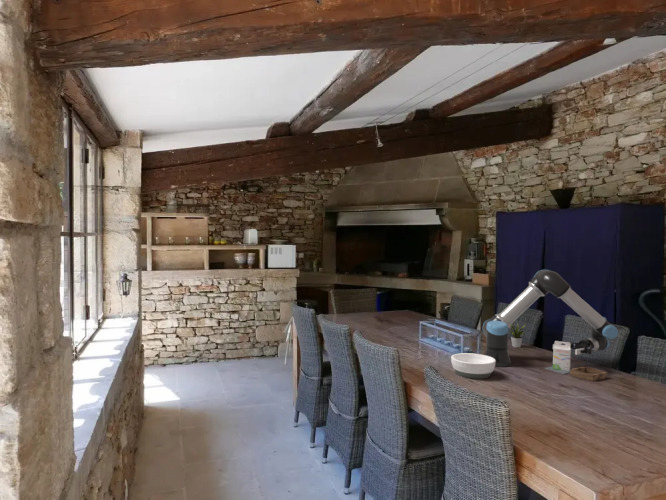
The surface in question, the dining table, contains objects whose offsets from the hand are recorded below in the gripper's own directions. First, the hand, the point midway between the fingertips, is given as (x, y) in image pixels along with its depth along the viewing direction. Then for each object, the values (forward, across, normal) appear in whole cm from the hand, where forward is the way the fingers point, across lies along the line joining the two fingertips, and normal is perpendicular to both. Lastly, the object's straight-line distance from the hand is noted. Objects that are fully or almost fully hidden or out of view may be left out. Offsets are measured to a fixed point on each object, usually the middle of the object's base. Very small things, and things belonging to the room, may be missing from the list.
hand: (564, 349), depth 267 cm
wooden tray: (0, -14, -11) cm, 18 cm away
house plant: (-22, +52, -12) cm, 57 cm away
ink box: (+2, 0, -11) cm, 11 cm away
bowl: (+51, +17, -12) cm, 55 cm away
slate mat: (+2, +1, -11) cm, 11 cm away
